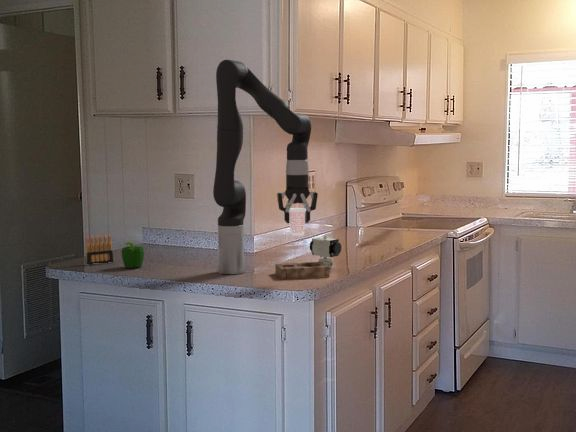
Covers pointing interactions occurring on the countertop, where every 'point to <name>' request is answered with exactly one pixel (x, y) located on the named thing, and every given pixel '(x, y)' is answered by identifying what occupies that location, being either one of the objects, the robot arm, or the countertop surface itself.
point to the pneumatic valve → (325, 249)
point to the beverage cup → (297, 221)
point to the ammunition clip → (99, 250)
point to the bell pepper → (132, 256)
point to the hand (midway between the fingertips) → (297, 222)
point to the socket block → (301, 270)
